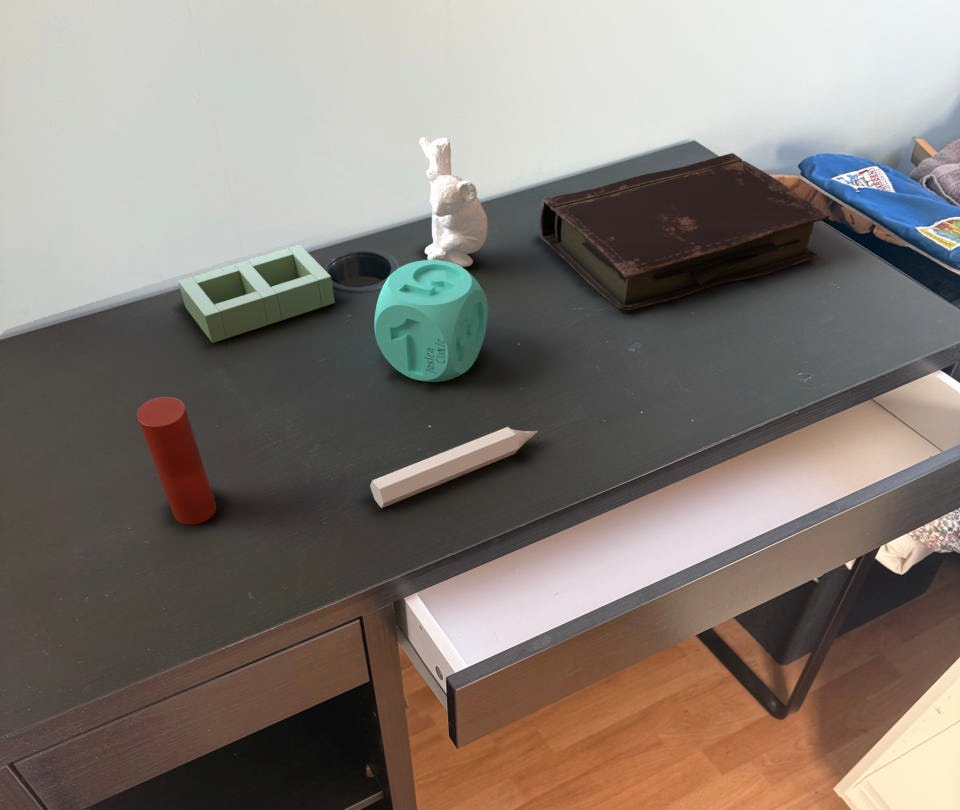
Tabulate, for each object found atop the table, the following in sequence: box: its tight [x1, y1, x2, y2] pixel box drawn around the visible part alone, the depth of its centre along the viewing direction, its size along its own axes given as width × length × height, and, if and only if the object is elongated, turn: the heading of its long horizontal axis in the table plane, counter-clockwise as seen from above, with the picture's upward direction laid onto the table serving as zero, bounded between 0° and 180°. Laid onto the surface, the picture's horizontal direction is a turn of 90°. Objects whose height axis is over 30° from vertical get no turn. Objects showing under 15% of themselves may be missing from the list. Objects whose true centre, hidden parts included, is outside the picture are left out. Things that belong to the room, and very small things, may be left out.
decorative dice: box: [373, 259, 489, 383], centre depth 84 cm, size 8×8×8 cm
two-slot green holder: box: [177, 244, 336, 344], centre depth 92 cm, size 14×8×3 cm, turn 122°
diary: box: [539, 152, 830, 311], centre depth 98 cm, size 19×25×5 cm
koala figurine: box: [418, 136, 489, 268], centre depth 94 cm, size 8×7×12 cm
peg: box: [136, 396, 217, 526], centre depth 71 cm, size 4×4×10 cm
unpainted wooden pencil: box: [369, 426, 539, 509], centre depth 77 cm, size 3×2×16 cm
